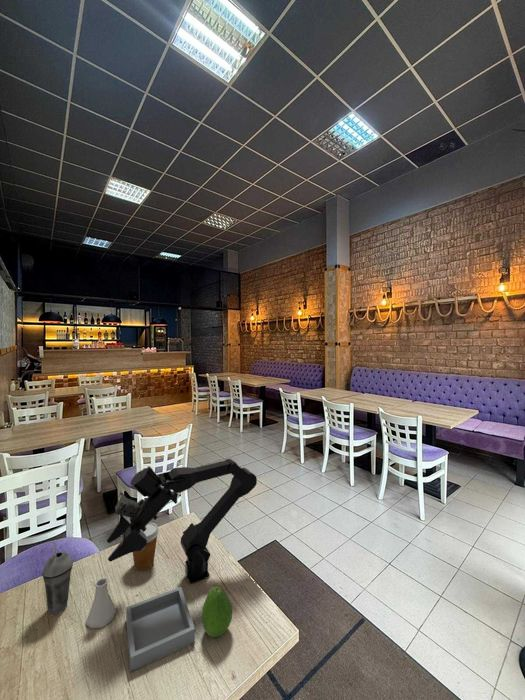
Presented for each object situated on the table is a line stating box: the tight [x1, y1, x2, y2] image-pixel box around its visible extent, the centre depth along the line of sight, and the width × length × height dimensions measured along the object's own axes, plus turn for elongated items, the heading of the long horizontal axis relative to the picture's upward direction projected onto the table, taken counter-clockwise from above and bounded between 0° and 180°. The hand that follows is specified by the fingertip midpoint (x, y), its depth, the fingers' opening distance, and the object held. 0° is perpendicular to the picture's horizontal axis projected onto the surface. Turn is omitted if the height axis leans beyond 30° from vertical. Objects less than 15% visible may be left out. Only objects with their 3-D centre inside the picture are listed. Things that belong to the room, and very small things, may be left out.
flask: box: [84, 577, 117, 630], centre depth 82 cm, size 7×7×10 cm
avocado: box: [201, 585, 233, 638], centre depth 78 cm, size 8×8×12 cm
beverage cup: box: [41, 540, 74, 616], centre depth 85 cm, size 7×7×20 cm
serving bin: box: [125, 586, 196, 673], centre depth 79 cm, size 15×15×4 cm
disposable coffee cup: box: [132, 521, 160, 572], centre depth 102 cm, size 10×10×12 cm
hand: (108, 550), depth 84 cm, fingers open, 9 cm apart
